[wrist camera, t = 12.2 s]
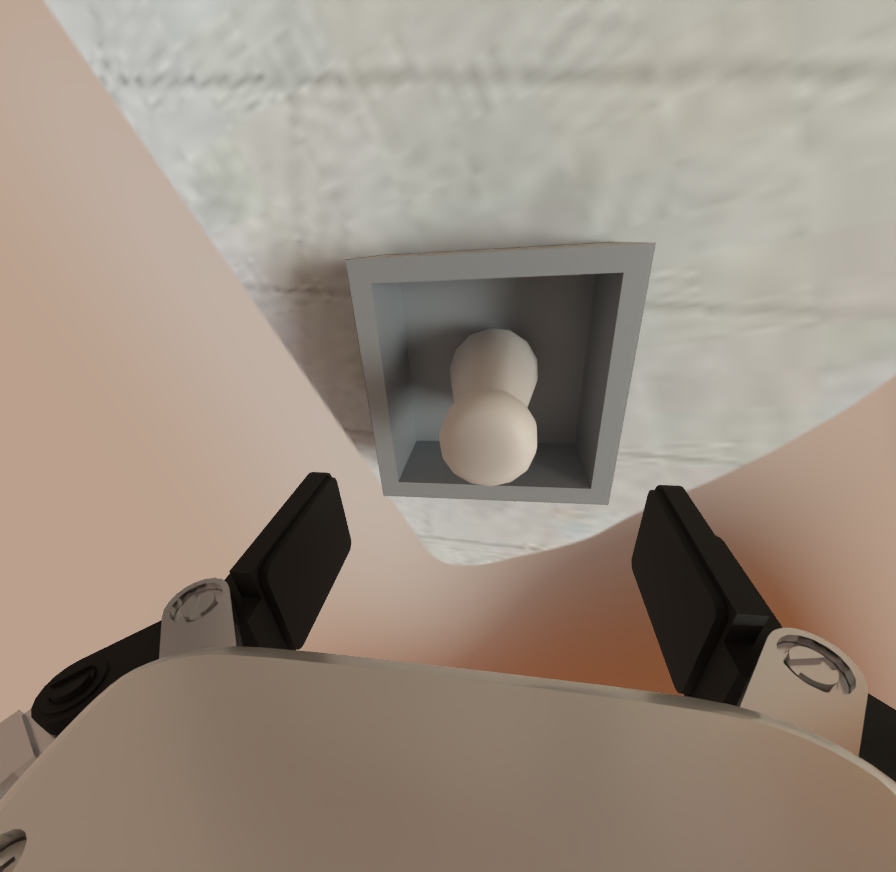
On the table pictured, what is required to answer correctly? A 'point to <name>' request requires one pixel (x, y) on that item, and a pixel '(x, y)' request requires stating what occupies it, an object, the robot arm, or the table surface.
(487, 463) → the salt shaker
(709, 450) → the table surface
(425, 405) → the bin
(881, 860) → the robot arm
